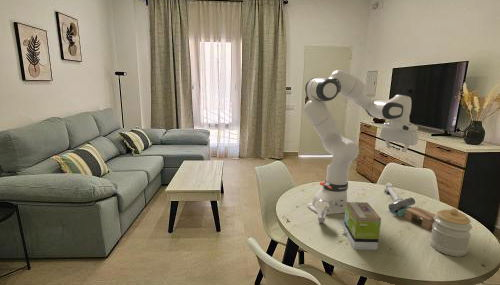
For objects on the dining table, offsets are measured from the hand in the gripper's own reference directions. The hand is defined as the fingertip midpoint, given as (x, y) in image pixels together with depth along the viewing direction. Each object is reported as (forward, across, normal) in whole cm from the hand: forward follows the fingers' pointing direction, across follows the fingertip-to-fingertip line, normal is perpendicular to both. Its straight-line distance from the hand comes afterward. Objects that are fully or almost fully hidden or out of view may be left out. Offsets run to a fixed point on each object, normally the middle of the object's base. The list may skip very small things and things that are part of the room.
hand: (396, 149), depth 154 cm
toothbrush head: (+32, -2, +7) cm, 32 cm away
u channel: (+31, +11, -5) cm, 33 cm away
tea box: (+31, +21, -47) cm, 60 cm away
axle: (+29, +11, -5) cm, 31 cm away
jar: (+31, +41, -18) cm, 55 cm away
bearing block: (+31, +23, -7) cm, 39 cm away
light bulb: (+31, +2, -52) cm, 61 cm away
